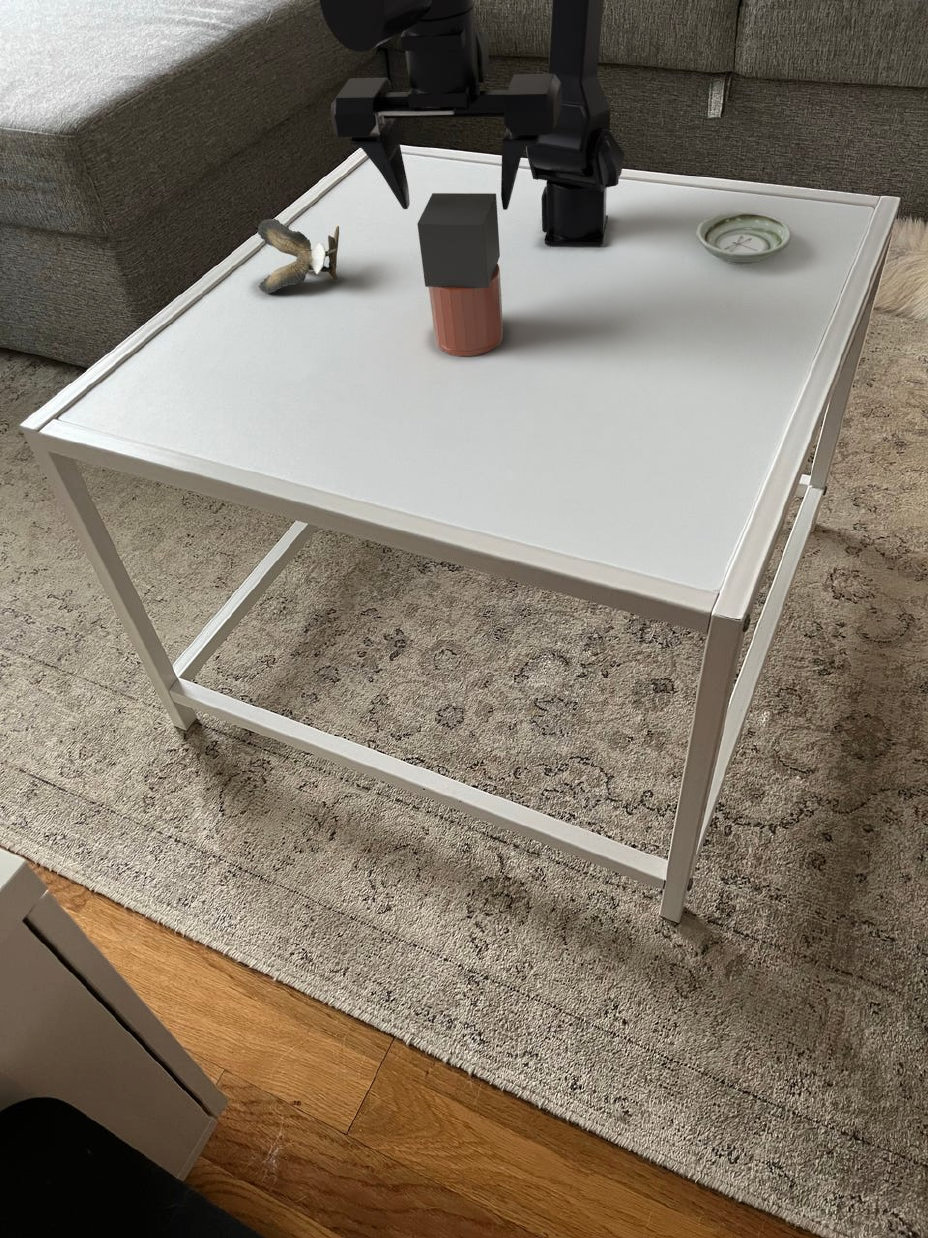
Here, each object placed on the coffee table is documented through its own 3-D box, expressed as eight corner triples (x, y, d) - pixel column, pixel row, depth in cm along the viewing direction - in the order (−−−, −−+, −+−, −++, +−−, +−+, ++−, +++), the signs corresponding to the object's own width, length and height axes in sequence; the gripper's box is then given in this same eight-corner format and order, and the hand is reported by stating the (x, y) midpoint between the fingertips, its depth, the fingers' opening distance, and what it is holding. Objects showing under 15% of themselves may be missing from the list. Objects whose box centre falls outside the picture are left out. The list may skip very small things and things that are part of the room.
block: (500, 255, 89) (496, 193, 84) (488, 288, 85) (483, 224, 81) (439, 254, 90) (432, 192, 86) (425, 286, 86) (417, 223, 82)
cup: (508, 320, 94) (505, 254, 89) (496, 357, 90) (492, 290, 85) (443, 317, 96) (436, 252, 90) (428, 355, 91) (420, 288, 86)
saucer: (768, 283, 95) (772, 260, 93) (679, 264, 99) (681, 242, 97) (801, 241, 100) (805, 218, 98) (715, 225, 104) (718, 203, 102)
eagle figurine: (341, 246, 106) (260, 239, 105) (338, 209, 98) (252, 201, 98) (337, 309, 104) (255, 302, 104) (334, 276, 97) (247, 269, 97)
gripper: (569, -29, 76) (569, 168, 87) (351, -19, 79) (379, 168, 91) (551, 17, 69) (554, 224, 80) (311, 25, 72) (347, 222, 84)
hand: (455, 207), depth 84 cm, fingers open, 9 cm apart
